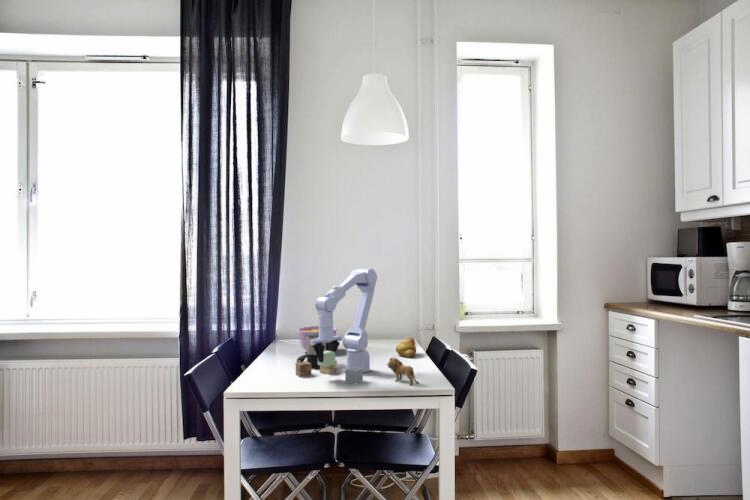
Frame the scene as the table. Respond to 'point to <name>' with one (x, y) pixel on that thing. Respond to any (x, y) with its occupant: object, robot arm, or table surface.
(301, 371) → the walnut block
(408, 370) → the lion figurine
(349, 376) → the slate grey block
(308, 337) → the milk frother
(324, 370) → the oak block
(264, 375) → the table surface
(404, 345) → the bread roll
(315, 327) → the bowl of food
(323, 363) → the sage painted block
